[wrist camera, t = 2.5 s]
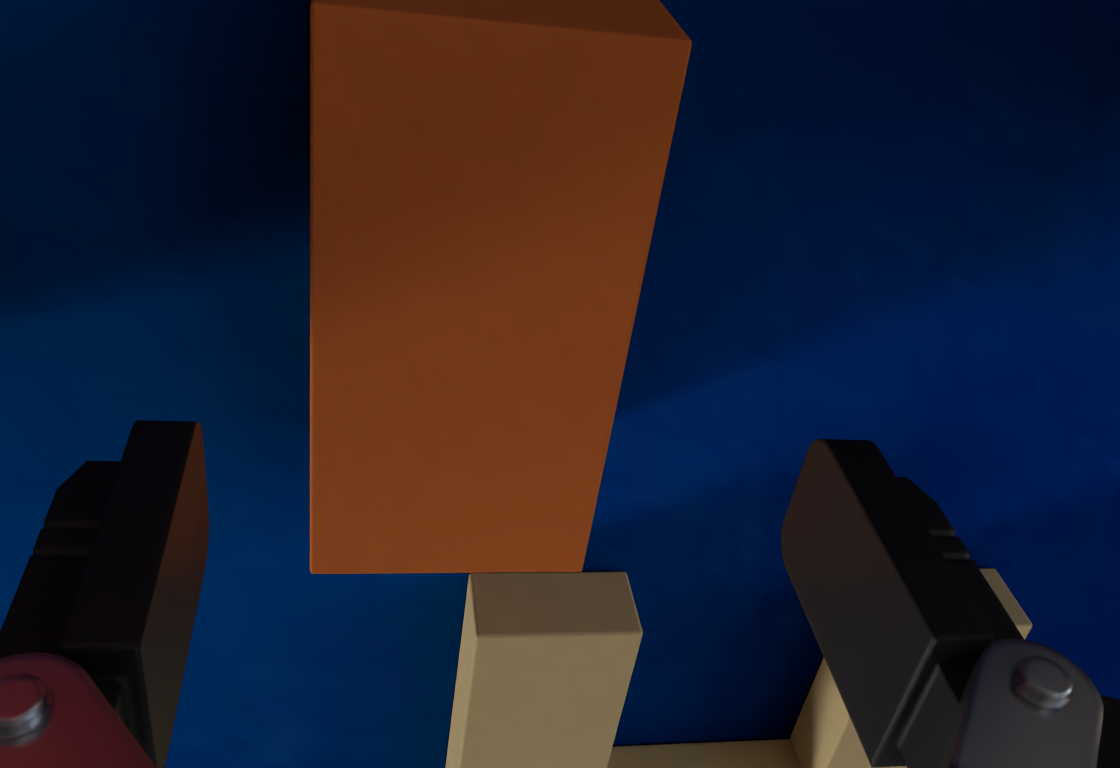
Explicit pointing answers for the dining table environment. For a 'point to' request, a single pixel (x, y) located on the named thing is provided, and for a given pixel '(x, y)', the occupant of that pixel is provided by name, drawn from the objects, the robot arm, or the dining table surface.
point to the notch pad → (603, 684)
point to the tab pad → (476, 270)
